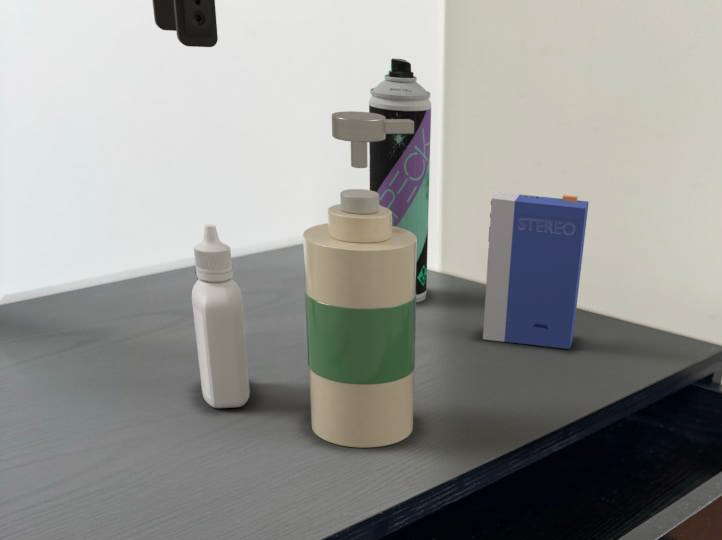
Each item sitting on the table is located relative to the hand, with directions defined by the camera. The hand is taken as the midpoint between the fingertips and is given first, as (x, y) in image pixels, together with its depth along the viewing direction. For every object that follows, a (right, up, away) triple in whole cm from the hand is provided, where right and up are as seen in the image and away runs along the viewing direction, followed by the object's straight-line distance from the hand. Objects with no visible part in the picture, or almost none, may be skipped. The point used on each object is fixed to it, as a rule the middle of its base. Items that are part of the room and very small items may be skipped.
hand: (185, 37), depth 60 cm
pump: (+12, -8, 0) cm, 14 cm away
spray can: (+10, -3, +36) cm, 37 cm away
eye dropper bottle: (-1, -19, +13) cm, 23 cm away
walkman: (+22, -10, +27) cm, 37 cm away
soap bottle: (+10, -22, +10) cm, 26 cm away
